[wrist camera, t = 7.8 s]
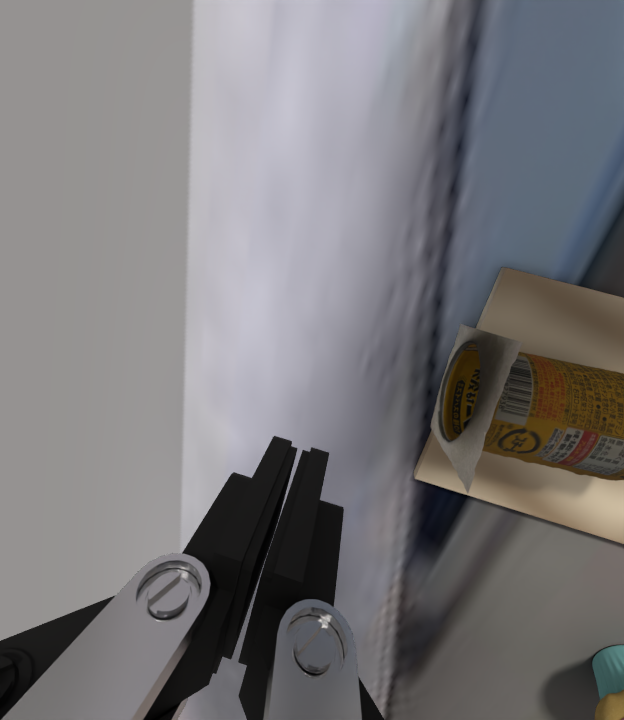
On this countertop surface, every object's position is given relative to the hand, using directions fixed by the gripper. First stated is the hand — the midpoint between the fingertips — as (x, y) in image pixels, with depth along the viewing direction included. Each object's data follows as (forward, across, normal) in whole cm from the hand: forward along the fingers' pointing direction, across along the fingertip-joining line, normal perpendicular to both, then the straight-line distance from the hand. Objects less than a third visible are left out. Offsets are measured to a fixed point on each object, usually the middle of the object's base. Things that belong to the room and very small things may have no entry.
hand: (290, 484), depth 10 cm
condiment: (+10, -7, -1) cm, 13 cm away
